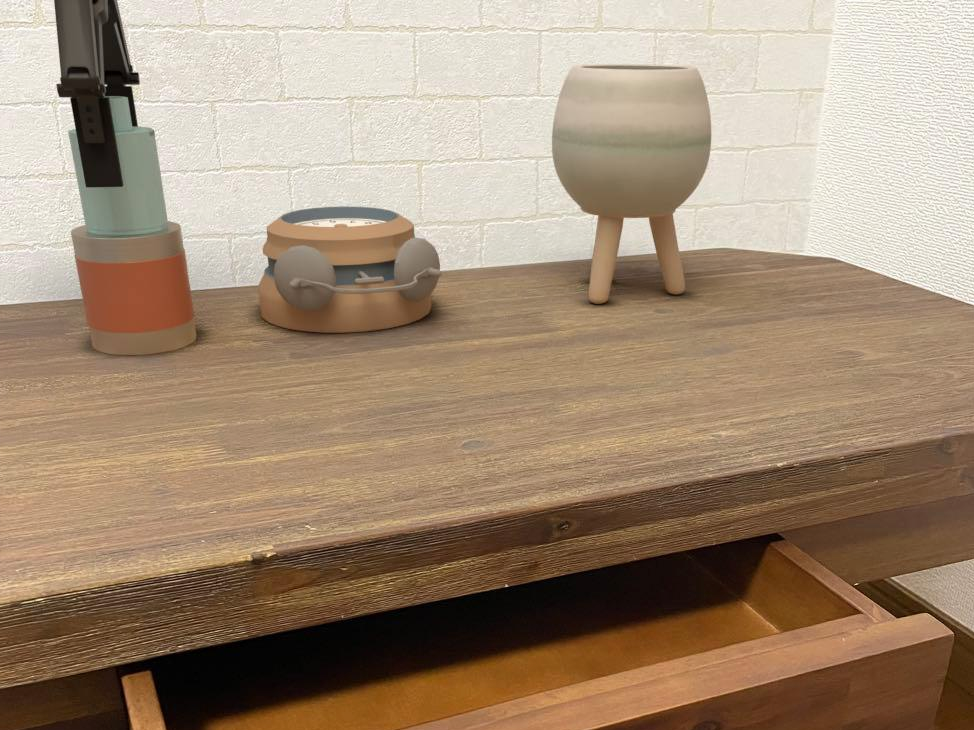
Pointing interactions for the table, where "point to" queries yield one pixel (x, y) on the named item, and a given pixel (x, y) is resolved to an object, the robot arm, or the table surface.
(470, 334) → the table surface
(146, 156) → the bottle
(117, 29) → the robot arm
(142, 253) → the tin can
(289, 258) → the alarm clock
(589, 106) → the planter
